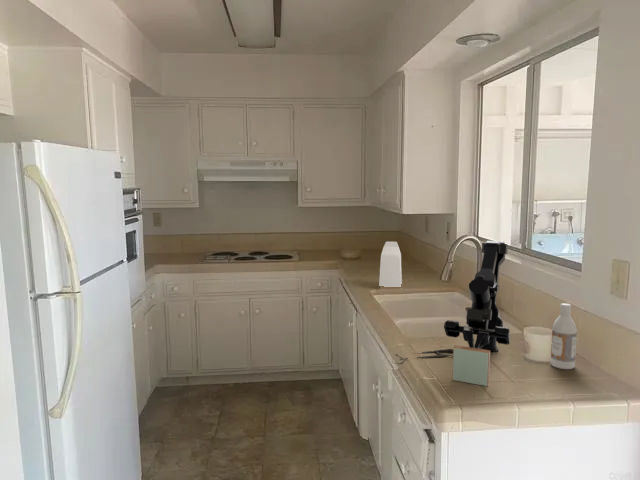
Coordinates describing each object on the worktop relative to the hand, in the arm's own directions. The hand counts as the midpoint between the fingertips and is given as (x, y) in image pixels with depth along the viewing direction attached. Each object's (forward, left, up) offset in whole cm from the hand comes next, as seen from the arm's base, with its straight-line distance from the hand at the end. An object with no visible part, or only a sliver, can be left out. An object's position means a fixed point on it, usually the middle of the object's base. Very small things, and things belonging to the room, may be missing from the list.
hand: (472, 357), depth 144 cm
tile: (+2, 0, -7) cm, 7 cm away
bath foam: (-17, +30, -7) cm, 35 cm away
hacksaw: (-17, -13, -8) cm, 23 cm away
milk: (-128, -30, -7) cm, 132 cm away
